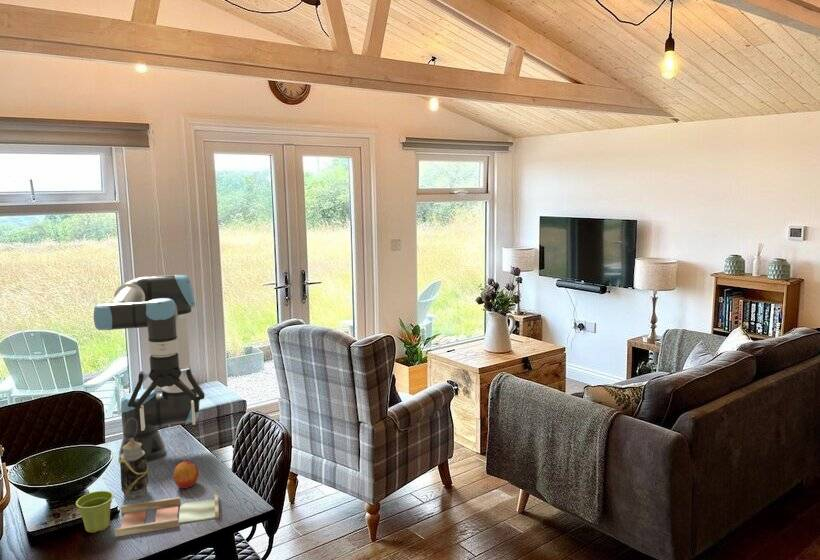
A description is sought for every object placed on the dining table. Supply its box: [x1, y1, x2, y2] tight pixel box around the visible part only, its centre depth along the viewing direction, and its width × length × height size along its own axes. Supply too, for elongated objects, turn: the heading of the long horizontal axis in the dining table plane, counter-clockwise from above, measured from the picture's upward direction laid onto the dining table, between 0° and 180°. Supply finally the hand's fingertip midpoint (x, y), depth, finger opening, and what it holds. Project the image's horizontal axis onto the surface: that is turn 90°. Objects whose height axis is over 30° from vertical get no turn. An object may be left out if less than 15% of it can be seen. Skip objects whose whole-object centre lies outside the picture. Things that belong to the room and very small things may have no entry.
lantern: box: [118, 418, 150, 500], centre depth 193 cm, size 9×8×25 cm
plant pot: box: [75, 490, 114, 534], centre depth 176 cm, size 9×9×9 cm
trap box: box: [114, 492, 220, 538], centre depth 182 cm, size 14×28×2 cm, turn 108°
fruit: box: [173, 460, 199, 489], centre depth 200 cm, size 8×8×8 cm
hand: (168, 426), depth 178 cm, fingers open, 13 cm apart
